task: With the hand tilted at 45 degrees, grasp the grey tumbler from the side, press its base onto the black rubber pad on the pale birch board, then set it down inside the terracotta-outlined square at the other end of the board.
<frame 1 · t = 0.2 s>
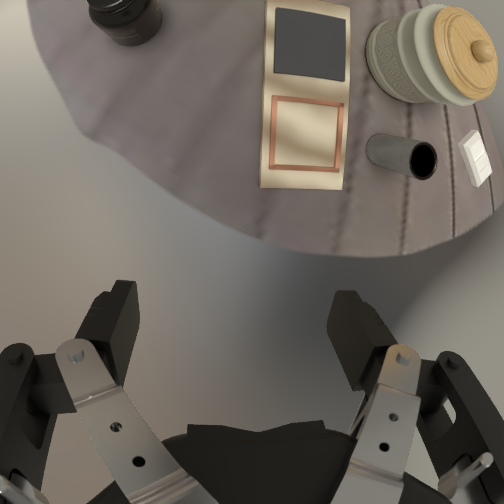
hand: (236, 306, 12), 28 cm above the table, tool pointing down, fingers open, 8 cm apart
supplement bottle: (136, 23, 28), on the table
jar: (400, 61, 34), on the table
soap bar: (470, 157, 42), on the table
grey tumbler: (378, 149, 39), on the table
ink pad: (310, 44, 31), resting on board
board: (305, 88, 34), on the table
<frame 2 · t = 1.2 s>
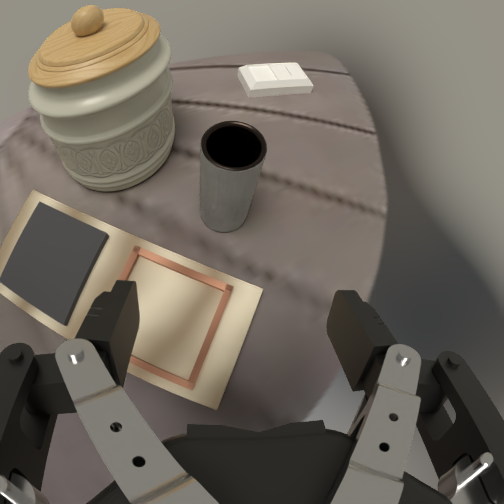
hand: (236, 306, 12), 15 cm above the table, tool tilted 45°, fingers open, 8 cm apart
jar: (119, 146, 31), on the table
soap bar: (273, 86, 38), on the table
grey tumbler: (223, 212, 30), on the table
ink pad: (51, 260, 24), resting on board
board: (104, 290, 25), on the table
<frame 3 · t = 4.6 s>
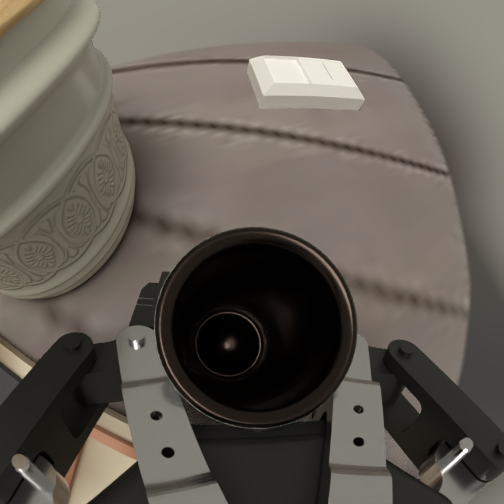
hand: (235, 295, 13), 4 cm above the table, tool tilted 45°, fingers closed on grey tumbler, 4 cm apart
jar: (50, 207, 17), on the table
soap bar: (301, 93, 24), on the table
grey tumbler: (227, 344, 16), on the table, touching gripper
board: (51, 461, 12), on the table
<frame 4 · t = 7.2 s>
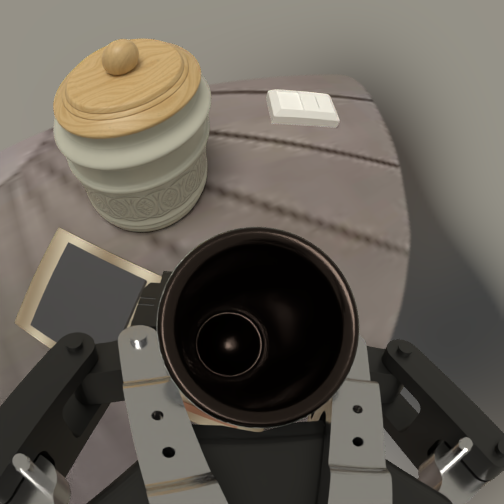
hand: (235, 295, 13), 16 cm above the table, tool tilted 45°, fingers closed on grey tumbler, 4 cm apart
jar: (147, 180, 32), on the table
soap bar: (300, 115, 38), on the table
grey tumbler: (227, 345, 16), point 11 cm above the table, touching gripper
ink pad: (86, 305, 25), resting on board
board: (144, 335, 26), on the table
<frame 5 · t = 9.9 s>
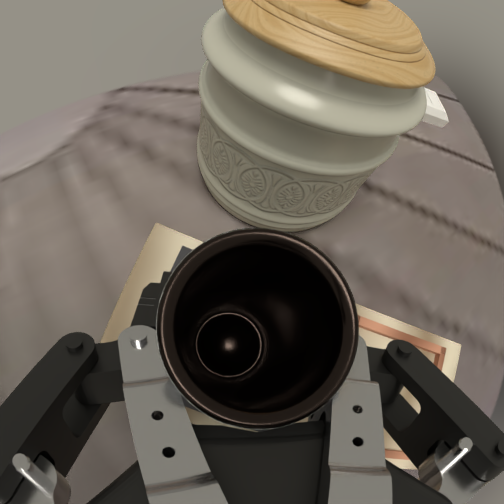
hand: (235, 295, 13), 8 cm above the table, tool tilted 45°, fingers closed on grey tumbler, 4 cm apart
jar: (276, 164, 25), on the table
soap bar: (409, 108, 32), on the table
grey tumbler: (227, 345, 16), point 3 cm above the table, touching gripper
board: (304, 372, 19), on the table
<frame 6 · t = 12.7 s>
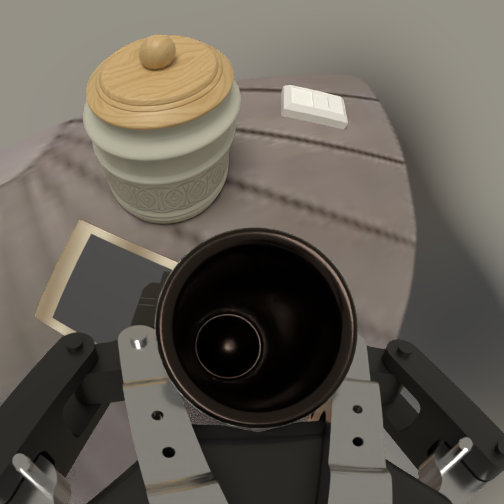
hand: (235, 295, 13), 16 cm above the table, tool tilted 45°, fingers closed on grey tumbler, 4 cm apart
jar: (168, 174, 33), on the table
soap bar: (311, 112, 40), on the table
grey tumbler: (227, 346, 16), point 12 cm above the table, touching gripper
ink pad: (111, 296, 26), resting on board
board: (170, 324, 27), on the table
when the fingers open (6 cm above the table, at t = 15.1 s): grey tumbler stays where it is, resting on board.
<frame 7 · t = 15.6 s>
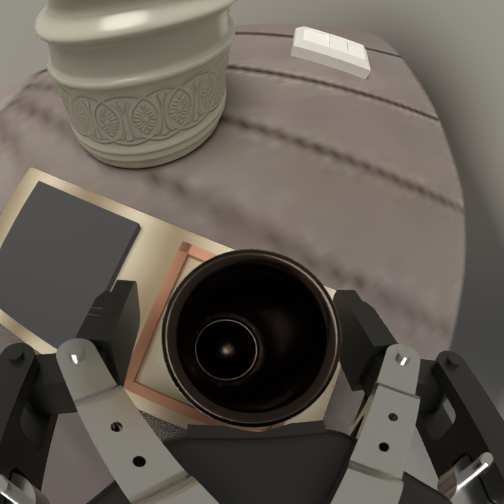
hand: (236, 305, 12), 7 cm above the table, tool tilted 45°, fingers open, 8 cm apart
jar: (148, 113, 23), on the table
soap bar: (327, 59, 30), on the table
grey tumbler: (225, 350, 17), point 1 cm above the table, touching board
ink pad: (54, 264, 17), resting on board
board: (134, 307, 18), on the table
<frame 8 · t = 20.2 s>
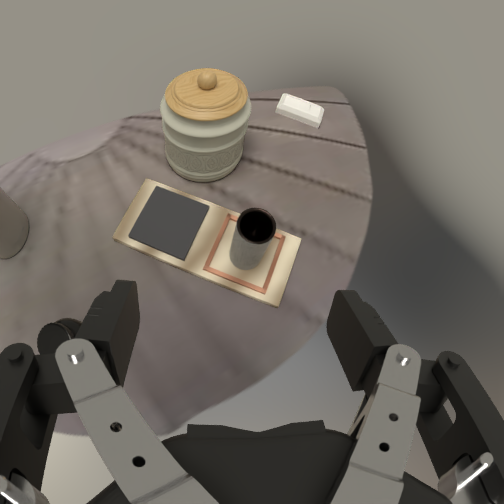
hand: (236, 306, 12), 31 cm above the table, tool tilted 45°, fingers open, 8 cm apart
supplement bottle: (92, 349, 38), on the table
jar: (203, 153, 51), on the table
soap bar: (298, 114, 58), on the table
grey tumbler: (244, 255, 44), point 1 cm above the table, touching board
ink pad: (169, 222, 44), resting on board
board: (206, 240, 45), on the table
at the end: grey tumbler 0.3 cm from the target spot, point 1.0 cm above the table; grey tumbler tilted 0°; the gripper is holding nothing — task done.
